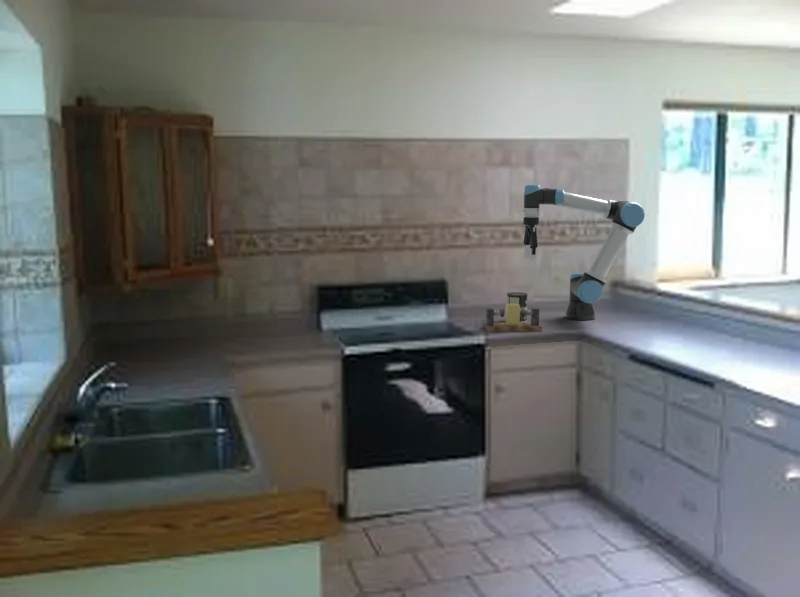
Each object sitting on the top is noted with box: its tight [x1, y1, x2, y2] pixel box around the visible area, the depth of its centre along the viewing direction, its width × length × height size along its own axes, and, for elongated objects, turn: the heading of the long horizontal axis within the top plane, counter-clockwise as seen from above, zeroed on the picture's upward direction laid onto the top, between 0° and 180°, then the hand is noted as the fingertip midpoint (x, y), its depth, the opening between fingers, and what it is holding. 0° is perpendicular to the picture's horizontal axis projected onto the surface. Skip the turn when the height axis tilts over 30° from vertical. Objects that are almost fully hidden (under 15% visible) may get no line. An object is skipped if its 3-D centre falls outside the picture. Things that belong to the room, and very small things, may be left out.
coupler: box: [504, 303, 520, 326], centre depth 384 cm, size 6×4×10 cm
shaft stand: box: [483, 307, 543, 333], centre depth 384 cm, size 26×11×10 cm, turn 93°
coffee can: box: [506, 291, 529, 323], centre depth 403 cm, size 10×10×14 cm
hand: (529, 259), depth 395 cm, fingers open, 13 cm apart
